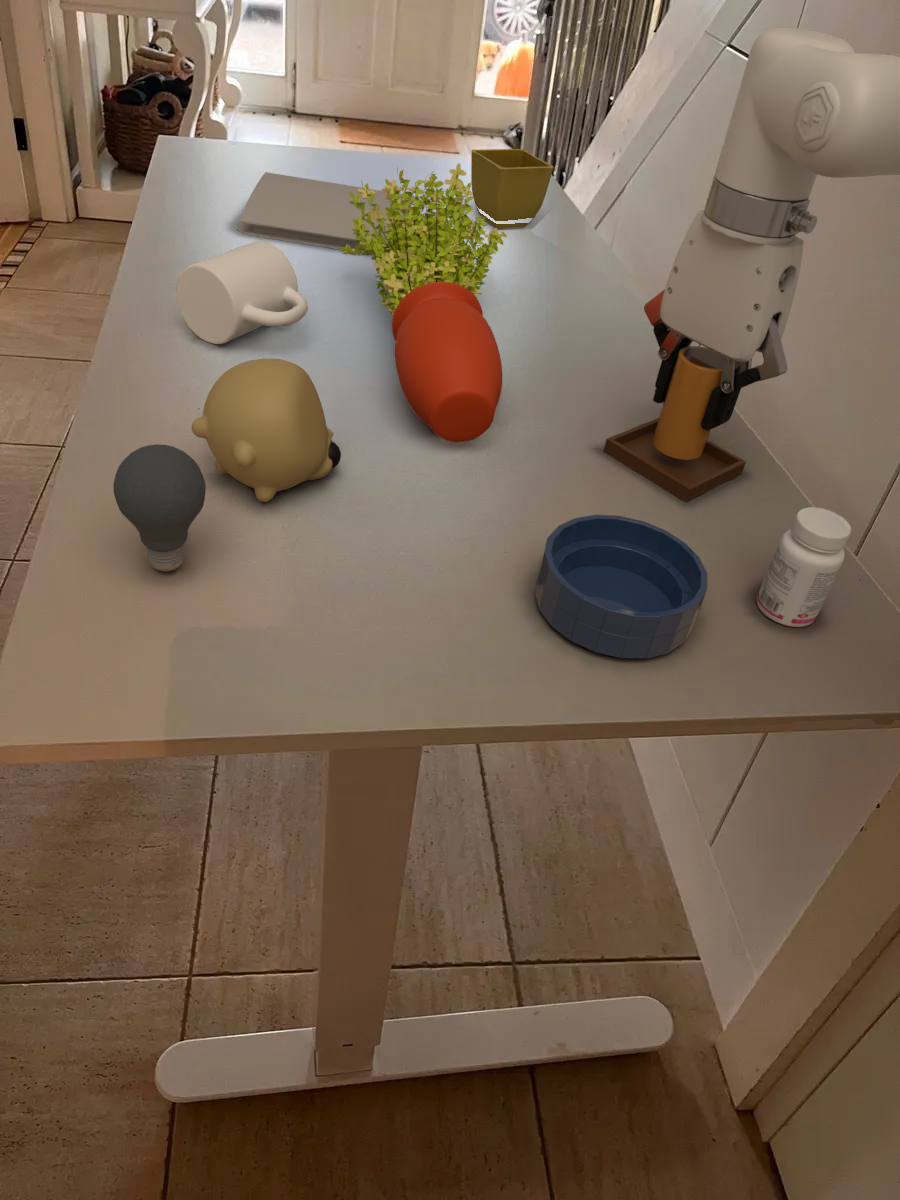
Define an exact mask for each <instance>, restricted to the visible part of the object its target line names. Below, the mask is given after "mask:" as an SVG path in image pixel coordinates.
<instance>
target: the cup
mask: <svg viewBox="0 0 900 1200" xmlns="http://www.w3.org/2000/svg"><path fill="white" fill-rule="evenodd" d="M722 359H723V355H721V354H719V353H717V352H715V351H713V350H711V349H709V348H707V347H705V346H699V345H692V346H691V345H690V346H689V347H684V348H682V349H681V350H680V351H679V354H678V357H677V360H676V364H675V367H674V370H673V374H672V377H671V380H670V384H669V387H668V390H667V394H666V397H665V400H664V402H663V404H662V407H661V410H660V413H659V417H658V418H659V420H658V424H657V427H656V430H655V433H654V437H653V445H654V446H655V448H656V449H657V450H659V451H660V452H661V453H663V454H665V455H667V456H670V457H673V458H677V459H682V460H692V459H696V458H698V457H700V456H701V455H702V453H703V451H704V448H705V445H706V442H707V440H709V435H710V434H711V433H710V432H711V430H708V431H706V430H704V429H703V428H702V426H701V423H702V420H703V417H704V414H705V411H706V408H707V405H708V402H709V399H710V396H711V393H712V391H713V389H714V388H717V387H719V386H720V384H721V371H722Z"/></svg>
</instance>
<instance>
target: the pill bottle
mask: <svg viewBox="0 0 900 1200" xmlns="http://www.w3.org/2000/svg"><path fill="white" fill-rule="evenodd" d="M851 533H852V527H851V524H850V523H849V521H847V520H846V519H845V518H844V517H843V516H841V515H840V514H839V513H836V512H834V511H832V510H829V509H826V508H822V507H816V506H809V507H804V508H801V509H800V510H799V511H798V512H797V513H796V515H795V518H794V519H793V522H792V524H791V528H790V529H789V530H787V531H786V532H785V533H784V534H782V536H781V538H780V540H779V542H778V545H777V547H776V550H775V552H774V555H773V556H772V559H771V562H770V564H769V566H768V569H767V571H766V573H765V576H764V578H763V580H762V583H761V586H760V588H759V590H758V592H757V596H756V603H757V608H759V610H760V611H761V612H762V613H763V615H764V616H766V617H767V618H769V620H772V621H774V622H775V623H778V624H780V625H784V626H787V627H792V628H801V627H802V628H803V627H807V626H809V625H811V624H812V623H814V622H815V620H816V619H817V617H818V616H819V613H820V611H821V609H822V607H823V605H824V604H825V601H826V599H827V597H828V595H829V593H830V591H831V589H832V587H833V585H834V583H835V580H836V578H837V576H838V575H839V572H840V570H841V567H842V566H843V563H844V560H845V555H846V553H845V549H844V548H845V547H846V545H847V543H848V540H849V538H850V535H851Z"/></svg>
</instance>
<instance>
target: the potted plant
mask: <svg viewBox="0 0 900 1200" xmlns="http://www.w3.org/2000/svg"><path fill="white" fill-rule="evenodd" d="M461 168H462V166H461V163H460V162H458V163H457V164H456V168H455V169H454V168H450V169H449V173H450V174H451V178H450V179H445V180H444V182H443V181H442V180H438V181H436V180H437V179H438V177H437V176H436V175H437V173H434V172H435V170H433V171H432V172H431V173H430V174H429V176H425V179H424V180H422V179H418V180H416V181H415V183H414V186H411V187H408V186H409V184H410V182H411V180H410V179H405V178H404V177H403V176H404V169H401V170H400V171H399V169H398V166H396V171H397V173H398V179H399V183H400V185H401V186H398V184H397V180H396V179H393V180H391V182H390V180H389V179H387V178H384V180H385V185H384V188H382V189H381V191H382V192H384V193H387V195H386V199H387V200H389V199H390V201H391V199H393V201H391V203H390V207H391V208H388V207H387V208H385V210H386V211H387V212H389V213H386V214H385V213H384V212H379V211H380V205H379V204H373V199H374V196H375V192H374V191H372V190H370V191H368V190H369V189H370V187H369V183H368V182H367V183H365V184H363V183H361V187H362V188H364V190H363V189H358V190H357V192H359V193H362V194H363V195H362V198H363V199H366V197H367V196H370V197H369V198H368V199H367V200H368V201H369V203H370V201H371V206H375V207H374V208H372V209H373V210H370V211H368V213H367V214H366V215H365V212H364V209H365V206H364V205H365V202H364V203H362V202H360V203H358V202H357V201H358V200H359V198H360V195H359V193H358V194H357V195H356V198H355V195H354V194H353V193H351V192H349V193H350V196H351V198H353V201H350V202H349V203H351V204H354V205H355V206H356V208H357V209H359V208H361V213H362V215H363V216H362V217H361V218H360V216H359V218H358V220H355V219H354V220H352V221H353V222H354V223H355V225H354V226H355V228H352V230H354V231H355V232H354V233H353V234H354V235H356V237H355V238H356V239H357V241H356V243H359V242H360V241H361V242H360V244H359V245H358V246H357V247H356V245H355V249H352V247H351V249H350V246H349V245H348V244H346V249H345V248H343V247H340V248H339V249H338V250H339V251H341V252H342V253H341V254H342V255H351V256H371V257H370V258H371V260H372V261H374V262H373V267H375V271H376V272H377V274H375V275H374V277H375V278H378V280H377V281H376V282H377V283H376V284H375V285H374V286H375V287H376V289H379V291H378V296H381V297H380V300H381V301H380V302H379V304H380V305H383V306H384V307H385V308H387V309H388V312H389V313H390V314H391V315H392V320H391V333H392V336H393V340H394V363H395V369H396V373H397V378H398V382H399V385H400V388H401V391H402V393H403V396H404V398H405V399H406V401H407V404H408V405H409V407H410V408H411V410H412V411H413V413H414V414H415V415H416V416H417V417H418V418H419V419H420V420H421V422H422V423H424V425H426V426H427V427H428V428H429V429H431V431H432V432H433V433H434V434H435V435H436V436H437V437H438V438H440V439H442V440H444V441H447V442H450V443H465V442H469V441H472V440H475V439H477V438H478V437H481V436H482V435H483V434H485V433H486V432H487V431H488V430H489V428H490V427H491V425H492V423H493V421H494V419H495V414H496V410H497V407H498V404H499V401H500V398H501V395H502V389H503V366H502V365H503V364H502V358H501V353H500V350H499V347H498V343H497V341H496V337H495V334H494V332H493V330H492V327H491V326H490V324H489V323H488V321H487V320H486V318H485V317H484V312H483V307H482V306H481V303H480V301H479V300H478V296H477V295H482V294H483V292H482V291H478V290H481V286H482V285H484V284H486V282H484V281H483V279H485V278H487V275H486V273H488V272H490V270H491V269H489V265H490V264H492V261H491V260H492V259H493V256H492V255H494V254H497V252H498V251H499V246H498V244H500V245H501V246H504V241H503V239H502V238H506V239H507V238H508V235H507V233H506V232H504V231H501V232H498V228H496V227H494V229H491V230H489V232H488V234H487V231H486V230H484V227H488V224H487V223H488V222H487V221H485V220H484V219H483V218H486V217H483V216H480V215H479V214H477V215H476V216H475V219H474V218H473V219H474V220H473V219H471V217H469V216H468V214H469V213H471V212H472V211H473V210H474V208H472V205H470V204H468V203H469V202H470V201H472V200H474V197H473V193H472V190H471V188H472V185H471V181H470V182H469V183H468V184H467V185H466V186H465V183H464V181H463V180H462V179H461V178H459V176H466V175H467V172H466V171H465V170H464V169H461ZM427 177H428V179H427ZM360 182H363V179H361V181H360ZM422 184H423V187H424V190H423V189H422V188H420V186H421V185H422ZM363 185H364V186H363ZM444 185H449V186H448V187H446V189H445V190H444V188H443V187H442V186H444ZM438 188H440V189H438ZM400 192H402V193H400ZM399 193H400V194H402V195H401V197H400V194H399ZM412 196H414V197H413V198H412V202H410V201H411V197H412ZM399 197H400V198H403V199H401V200H402V202H401V200H400V199H398V198H399ZM404 199H408V200H406V201H405V200H404ZM403 200H404V201H403ZM407 201H408V202H407ZM463 201H464V204H463ZM410 204H411V206H410ZM359 206H360V207H359ZM371 206H370V207H371ZM407 207H409V208H408V209H407ZM359 210H360V209H359ZM405 210H406V211H405ZM424 210H425V212H424ZM399 211H401V212H402V213H403V214H405V216H406V217H403V216H402V215H401V214H400V213H399ZM391 212H392V213H391ZM422 212H424V213H422ZM372 215H374V217H373V222H372V221H371V216H372ZM386 215H387V217H388V219H389V221H385V220H386V219H385V218H381V219H379V218H378V216H380V217H385V216H386ZM365 216H367V219H364V217H365ZM481 217H483V218H481ZM363 220H365V221H366V222H368V224H370V225H371V226H372V227H373V228H374V229H375V230H376V229H378V230H379V232H377V231H375V230H373V233H374V234H372V235H370V232H369V230H367V229H365V228H366V226H365V223H364V224H362V221H363ZM377 220H378V221H377ZM390 220H391V221H390ZM376 221H377V222H378V224H379V222H380V224H379V225H378V226H377V227H376V228H375V224H374V223H375V222H376ZM384 221H385V224H387V225H389V226H384V229H383V227H382V226H383V225H384ZM484 221H485V222H484ZM359 224H360V225H361V226H360V225H359ZM385 227H388V228H389V231H385ZM383 231H384V232H383ZM364 232H367V233H366V234H365V233H364ZM368 232H369V233H368ZM382 232H383V235H384V237H383V236H382V235H381V233H382ZM378 233H379V234H378ZM385 233H386V234H388V235H387V237H386V236H385ZM360 235H361V237H360ZM482 235H483V236H484V237H482ZM370 236H372V237H378V239H377V238H372V239H370ZM364 237H366V238H365V239H364ZM379 237H380V238H379ZM385 238H386V240H387V241H385ZM485 238H487V242H488V243H487V242H485V243H484V242H483V241H485ZM465 240H466V241H465ZM366 242H367V243H366ZM386 242H388V244H389V245H388V244H387V243H386ZM392 244H393V245H392ZM387 245H388V247H387V248H386V246H387ZM359 248H363V249H361V250H362V251H363V250H364V249H365V251H364V253H363V252H362V251H360V250H359ZM370 250H371V251H370ZM388 250H390V253H388ZM373 254H374V255H373ZM480 285H481V286H480ZM380 288H381V289H380ZM387 292H388V293H387Z"/></svg>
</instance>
